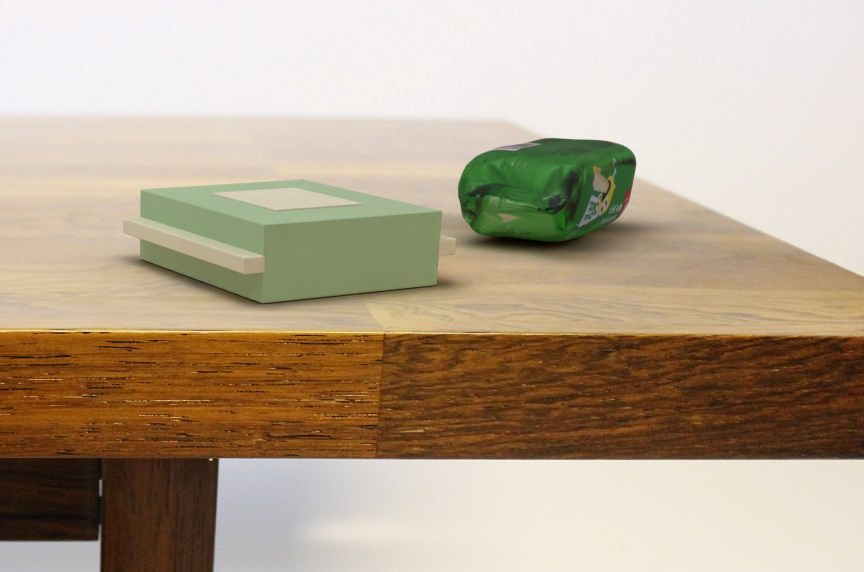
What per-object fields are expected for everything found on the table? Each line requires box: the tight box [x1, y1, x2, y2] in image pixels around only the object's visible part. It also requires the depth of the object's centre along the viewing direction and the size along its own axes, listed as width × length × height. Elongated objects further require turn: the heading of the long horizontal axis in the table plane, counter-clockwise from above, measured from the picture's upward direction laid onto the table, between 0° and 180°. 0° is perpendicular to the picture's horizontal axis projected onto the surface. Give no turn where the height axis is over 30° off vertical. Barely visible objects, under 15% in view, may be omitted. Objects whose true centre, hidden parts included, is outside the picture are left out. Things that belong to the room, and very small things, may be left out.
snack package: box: [457, 137, 637, 243], centre depth 85 cm, size 7×16×5 cm, turn 146°
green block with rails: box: [122, 178, 457, 304], centre depth 74 cm, size 12×12×4 cm
